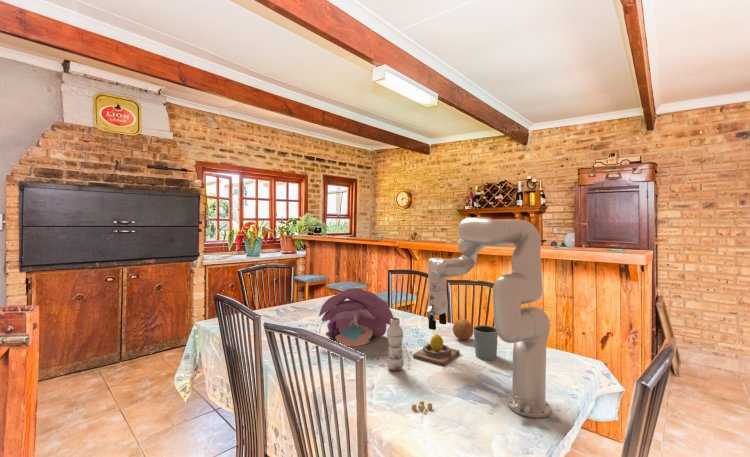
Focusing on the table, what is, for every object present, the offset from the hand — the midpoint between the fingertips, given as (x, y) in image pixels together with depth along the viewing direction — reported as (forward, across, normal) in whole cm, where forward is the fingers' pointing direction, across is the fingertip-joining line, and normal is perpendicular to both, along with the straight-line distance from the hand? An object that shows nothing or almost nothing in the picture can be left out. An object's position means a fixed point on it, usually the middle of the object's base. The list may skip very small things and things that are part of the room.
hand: (437, 326), depth 150 cm
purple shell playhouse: (+12, -5, +43) cm, 45 cm away
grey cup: (+13, +12, -16) cm, 24 cm away
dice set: (+15, -40, -15) cm, 45 cm away
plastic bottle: (+13, -22, +8) cm, 27 cm away
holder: (+13, 0, +1) cm, 13 cm away
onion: (+13, +26, 0) cm, 29 cm away
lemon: (+12, 0, +1) cm, 12 cm away
